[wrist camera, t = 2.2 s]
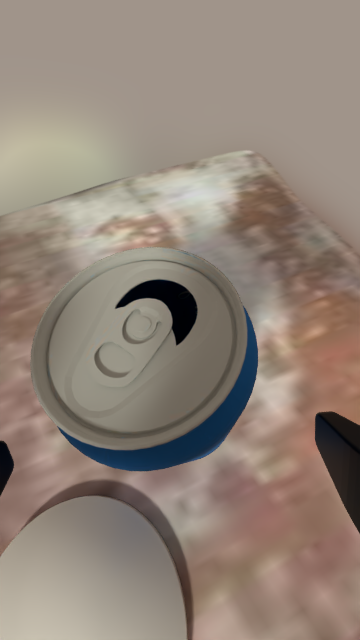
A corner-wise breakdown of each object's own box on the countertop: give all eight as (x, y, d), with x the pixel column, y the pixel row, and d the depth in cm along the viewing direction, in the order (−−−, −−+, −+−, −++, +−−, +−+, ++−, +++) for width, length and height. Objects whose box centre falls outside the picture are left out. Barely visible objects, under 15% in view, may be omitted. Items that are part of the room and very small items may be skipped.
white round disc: (237, 688, 11) (238, 699, 10) (-1, 945, 9) (-15, 977, 8) (121, 454, 16) (118, 454, 15) (-48, 583, 14) (-58, 588, 13)
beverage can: (250, 392, 17) (310, 287, 6) (199, 485, 15) (161, 565, 4) (173, 345, 19) (123, 213, 9) (119, 420, 17) (-35, 365, 6)
